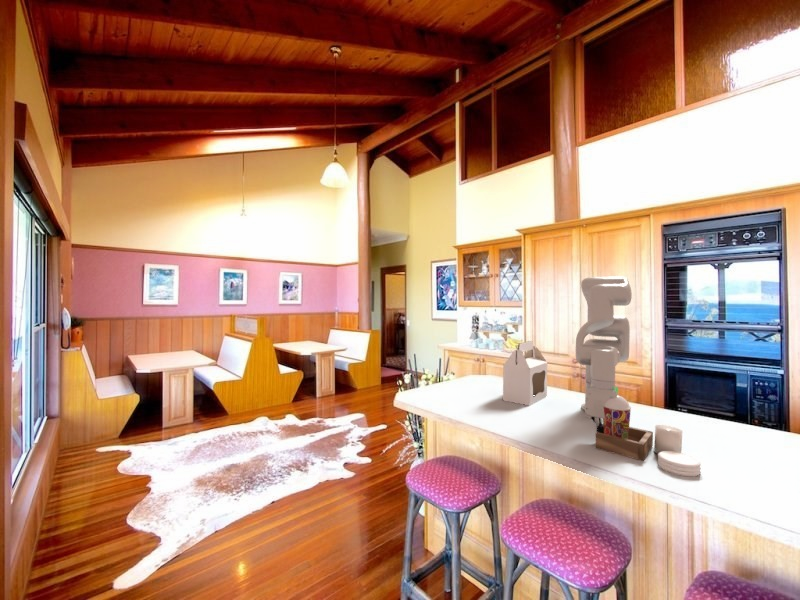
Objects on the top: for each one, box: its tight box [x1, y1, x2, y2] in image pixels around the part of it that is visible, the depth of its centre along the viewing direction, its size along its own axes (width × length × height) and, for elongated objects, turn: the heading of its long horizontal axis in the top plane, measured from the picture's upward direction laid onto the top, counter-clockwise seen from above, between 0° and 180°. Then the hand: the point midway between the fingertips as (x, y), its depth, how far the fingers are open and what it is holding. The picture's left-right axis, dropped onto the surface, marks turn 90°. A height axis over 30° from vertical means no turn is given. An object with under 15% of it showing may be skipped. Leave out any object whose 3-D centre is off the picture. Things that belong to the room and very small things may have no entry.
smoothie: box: [602, 386, 632, 439], centre depth 124 cm, size 8×8×20 cm
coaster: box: [657, 451, 701, 477], centre depth 108 cm, size 10×10×4 cm
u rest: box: [595, 426, 654, 462], centre depth 123 cm, size 15×14×5 cm
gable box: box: [502, 340, 548, 406], centre depth 181 cm, size 22×13×28 cm, turn 138°
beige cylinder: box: [653, 424, 683, 455], centre depth 118 cm, size 7×7×8 cm
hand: (601, 437), depth 127 cm, fingers closed
